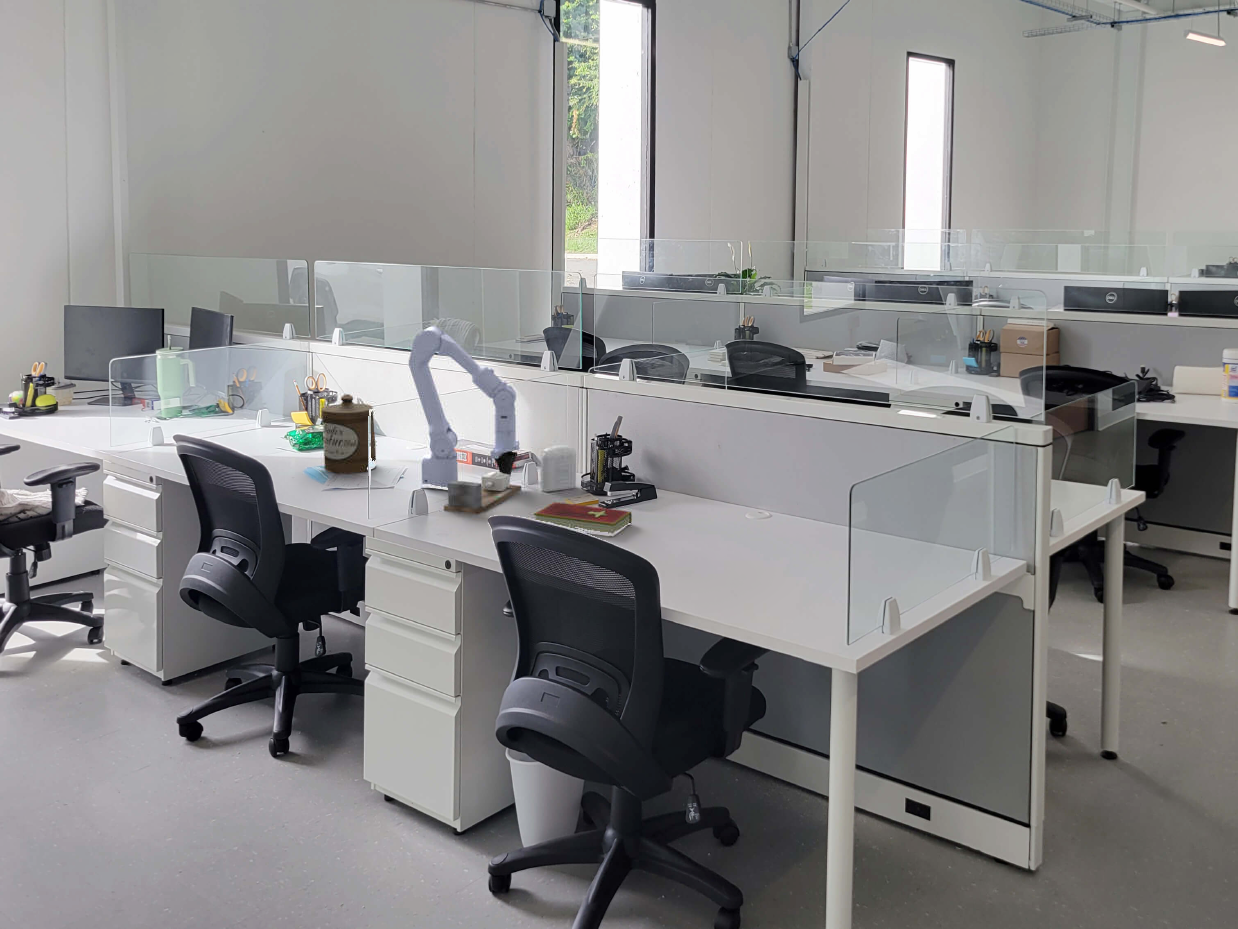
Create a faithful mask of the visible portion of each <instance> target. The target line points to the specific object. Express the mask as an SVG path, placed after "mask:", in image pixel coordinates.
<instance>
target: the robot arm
mask: <svg viewBox="0 0 1238 929" xmlns="http://www.w3.org/2000/svg"><path fill="white" fill-rule="evenodd" d="M437 351H438V353H437V355H441V356H446V357H450V358H451V359H452V360H454V361H455V362H456V363H457V364H458V365H459V366H461V368H462V369H464V370H465V371H467V373H468V374H470V375H471V380H472V383H473V384H474V385H475V386H476V387H477V388H478V389H479V390H480V391H481V392H482V393H484V394H485V396H487V397H488V398H490V399H492V403H493V405H494V407H495V408H494V409H495V410H494V412H495V413H494V445H493V447H492V450H490V459H494V460H495V462H496V465H497V469H498V472H501V473H503V474H510V477H511V474H512V471H513V466H514V463H515V461H516V459H517V457H518V452H515V451H519V450H520V448H521V447H520V440H519V441H518V440H517V439H516V433H517V432H516V425H517V424H516V422H517V420H516V416H517V415H516V406H515V402H516V400H517V393H516V391H515V390H514V388H513V387H512V386H511V385H508V382H506V381H505V380H504V381H502V380H503V379H500V378H499V377H498V375H496V374H495V371H496V370H494V369H493V368H492V367H490V368H489V367H488V366H480V365H479V364H478V363H477V362H476V361H475V360H474V359H473V358H472V357H471V356H470V355H469V354H468V353H467V352H466V351H465V350H464V349H463V348H462V347H461V346H460V345H459V344H458V343H457V342H456V341H455V340H454V339H453V338H452V337H451V336H450V335H448V334H447V333H444V331H443V330H442V329H441V328H440V327H438V326H429V327H426V328H425V329H424V330H422V331H420V332H419V333H418V335H417V336H416V337H415V338H414V340H413V341H412V347H411V351H410V356H409V359H408V367H409V370H410V373H411V376H412V379H413V381H414V385H415V387H416V390H417V394H418V397H419V401H420V403H421V406H422V409H423V413H424V416H425V418H426V419H425V420H426V422H427V425H428V436H429V438H430V442H429V449H430V451H431V453H429V454H425V455H424V456H423V458H422V460H421V461H422V462H421V485H422V484H431V485H435V486H441V487H447V488H448V483H449V482H451V481H453V480H455V481H459V478H458V475H459V474H458V469H459V468H458V452H457V451H456V449H455V447H456V446H457V444H458V436H457V433H456V432H454V430H453V428H451V425H450V423H449V421H448V420H447V418H446V416H445V413H444V410H443V409H444V408H443V407H442V403H441V400H440V396H439V394H438V391H437V388H436V387H437V386H436V384H435V380H434V379H433V375H432V373H431V369H430V366H429V363H430V361H431V360H432V358H433V356H434V355H435V353H436V352H437Z"/></svg>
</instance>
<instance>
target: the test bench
mask: <svg viewBox="0 0 1238 929" xmlns="http://www.w3.org/2000/svg"><path fill="white" fill-rule="evenodd" d="M509 488H512V489H505V490H503V491H495V490H486V489H482V482H481V483H480V482H472V481H464V480H458V481H455V480H453V481H451V482H449V483H448V491H447V502H448V503H447V504H445V505H443V510H444V511H448V512H454V513H455V512H456V513H465V514H471V515H474V514H475V515H481V514H482V513H484V512H485V511H488V510H489V509H491V508H492V507H495V506H496V505H498V504H500V503H502V502H503V501H506V500H507V499H508V498H510V497H512V496H514V495H516V494H517V493H519V492H521V491H522V485H519V484H518V485H517V484H510V487H509Z"/></svg>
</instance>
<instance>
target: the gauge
mask: <svg viewBox="0 0 1238 929" xmlns="http://www.w3.org/2000/svg"><path fill="white" fill-rule="evenodd" d="M510 481H511V476H510V474H503V473H501V472H499V471H490V472H488V473H486V474H483V475H481V486H482V489H486V490H495V491H503V490H505V489H512V488H509V487H510V485H511V482H510Z"/></svg>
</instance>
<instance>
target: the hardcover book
mask: <svg viewBox="0 0 1238 929" xmlns="http://www.w3.org/2000/svg"><path fill="white" fill-rule="evenodd" d="M533 515H534V516H535V521H536V520H540V521H545V522H551V523H554V524H557V525H562V526H566V527H570V528H574V529H578V528H575V527H579V528H583V529H587V530H594V531H600V532H608V533H612V534H613V533H614V532H615V531H617V530H619V529H621V528H622V527H624V526H625V525H627V524H628V523H631V524H632V517H633V516H632V511H628V510H621V509H620V510H619V509H613V508H605V507H599V506H598V507H597V506H587V505H581V504H574V503H573V504H572V503H565V502H557V501H553V502H551V503H550V504H547V505H546V506H545V507H543V508H541V509H539V510H537V511H535V512H534V513H533ZM569 525H570V526H569ZM583 531H584V530H583Z"/></svg>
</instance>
